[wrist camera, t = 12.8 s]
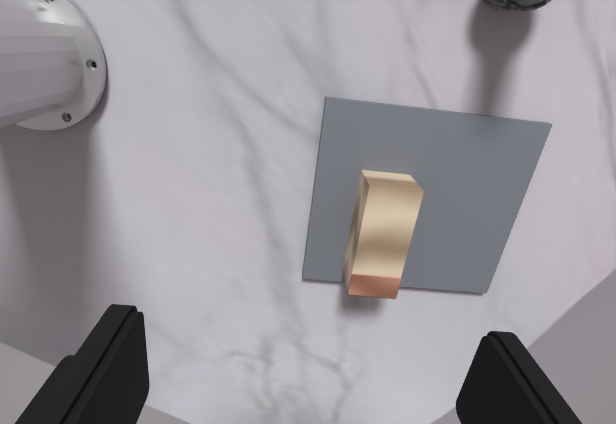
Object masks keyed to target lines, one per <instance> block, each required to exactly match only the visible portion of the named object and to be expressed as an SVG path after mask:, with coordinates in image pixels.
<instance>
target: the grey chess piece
mask: <svg viewBox="0 0 616 424" xmlns="http://www.w3.org/2000/svg"><path fill="white" fill-rule="evenodd" d="M483 1H484V2H485V3H486V4H487V5H488V6H490V7H492V8H494V9H497V10H508V9H515V10H520V11H529V10H535V9H537V8H540V7H542V6H544V5H546V4H547V3H548V2H550V1H551V0H483Z"/></svg>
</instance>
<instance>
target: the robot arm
mask: <svg viewBox="0 0 616 424" xmlns="http://www.w3.org/2000/svg"><path fill="white" fill-rule="evenodd" d="M94 62H96V65H97V67H95V66H94ZM105 81H106V64H105V58H104V54H103V50H102V46H101V44H100V41H99V39H98V37H97V34H96V32H95V30H94V29H93V27H92V25H91V24H90V22H89V20H88V19H87V17H86V16H85V15H84V14H83V12H82V11H81V10H80V9H79V8H78V6H77V5H76V4H75V3H74V2H73V1H72V0H54V1H53V0H0V128H2V127H5V126H8V125H12V124H15V125H18V126H21V127H23V128H28V129H33V130H38V131H53V130H59V129H64V128H67V127H70V126H73V125H75V124H77V123H79V122H80V121H82V120H84V119H85V118H87V117H88V116H89V115H90V114H91V113H92V112H93V111H94V110H95V108H96V106H97V105H98V103H99V102H100V100H101V97H102V94H103V92H104V88H105ZM70 115H71V117H72V118H71V117H70ZM148 392H149V373H148V361H147V350H146V338H145V327H144V316H143V313H142V312H137V308H136V306H131V305H117V304H112V305H110V306H109V307H108V309H107V310H106V312H105V313H104V314H103V316H102V317H101V319H100V320H99V322H98V323H97V324H96V326H95V327H94V329H93V330H92V332H91V333H90V334H89V336H88V337H87V339H86V340H85V342H84V343H83V344H82V346H81V347H80V349H79V350H78V352H77V353H76V354H75V355H68V356H67V357H65V358H63V360H62V361H61V362H60V363H59V364H58V365H57V367H56V368H55V370H54V371H53V372H52V374H51V375H50V376H49V378H48V379H47V380H46V382H45V383H44V384H43V386H42V387H41V389H40V390H39V391H38V393H37V394H36V396H35V397H34V398H33V399H32V401H31V402H30V404H29V405H28V406H27V408H26V409H25V411H24V412H23V413H22V414H21V416H20V417H19V419H18V420H17V421H16V423H15V424H136V423H137V420H138V418H139V415H140V412H141V411H142V408H143V406H144V404H145V401H146V399H147V396H148ZM456 411H457V415H458V417H459V419H460V422H461V424H582V423H581V422H580V420H579V419H578V418H577V416H576V415H575V413H574V412H573V411H572V410H571V408H570V407H569V405H568V404H567V403H566V402H565V400H564V399H563V397H562V396H561V395H560V394H559V392H558V391H557V389H556V388H555V387H554V386H553V384H552V383H551V381H550V380H549V379H548V378H547V376H546V375H545V373H544V372H543V371H542V369H541V368H540V367H539V366H538V364H537V363H536V362H535V360H534V359H533V357H532V356H531V355H530V353H529V352H528V351H527V349H526V348H525V347H524V345H523V344H522V343H521V341H520V340H519V339H518V337H517V336H516V335H515V334H513V333H511V332H498V331H490V332H489V333H488V334H487V336H484V337H482V339H481V341H480V344H479V346H478V349H477V351H476V354H475V356H474V359H473V361H472V364H471V366H470V368H469V371H468V373H467V376H466V378H465V381H464V383H463V386H462V388H461V391H460V393H459V396H458V398H457V401H456Z"/></svg>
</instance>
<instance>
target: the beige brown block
mask: <svg viewBox="0 0 616 424" xmlns="http://www.w3.org/2000/svg"><path fill="white" fill-rule="evenodd" d="M423 194H424V191H423V189H422V188H421V187H420V186H419V185H418V184H417V182H416V181H415V180H414V179H413V178H412V177H411V175H407V174H397V173H388V172H378V171H369V170H361V174H360V180H359V185H358V190H357V196H356V201H355V206H354V212H353V217H352V222H351V228H350V233H349V238H348V244H347V249H346V254H345V260H344V265H343V275H344V280H345V285H346V290H347V295H352V296H365V297H377V298H390V299H395V298H396V297H397V293H398V289H399V285H400V282H401V276H402V272H403V268H404V264H405V261H406V257H407V253H408V250H409V246H410V242H411V238H412V235H413V231H414V227H415V223H416V220H417V216H418V212H419V208H420V205H421V201H422V197H423Z"/></svg>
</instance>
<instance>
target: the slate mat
mask: <svg viewBox="0 0 616 424" xmlns="http://www.w3.org/2000/svg"><path fill="white" fill-rule="evenodd" d="M551 127H552V124H549V123H545V122H536V121H528V120H519V119H511V118H502V117H494V116H485V115H477V114H468V113H460V112H451V111H443V110H434V109H426V108H417V107H409V106H400V105H392V104H383V103H375V102H366V101H358V100H349V99H340V98H332V97H325V105H324V113H323V120H322V128H321V135H320V143H319V151H318V158H317V166H316V174H315V181H314V189H313V196H312V204H311V212H310V219H309V227H308V234H307V242H306V250H305V257H304V265H303V273H302V279H313V280H325V281H338V282H345V280H344V275H343V265H344V260H345V254H346V249H347V244H348V238H349V233H350V228H351V222H352V217H353V212H354V206H355V201H356V196H357V190H358V185H359V180H360V174H361V170H369V171H378V172H388V173H397V174H407V175H411V177H412V178H413V179H414V180H415V181H416V182H417V184H418V185H419V186H420V187H421V188H422V189H423V191H424V194H423V197H422V201H421V205H420V208H419V212H418V216H417V220H416V223H415V227H414V231H413V235H412V238H411V242H410V246H409V250H408V253H407V257H406V261H405V264H404V268H403V272H402V276H401V282H400V285H399V286H401V287H414V288H427V289H439V290H452V291H465V292H477V293H487V291H488V289H489V286H490V283H491V281H492V278H493V276H494V273H495V271H496V268H497V265H498V263H499V260H500V258H501V255H502V253H503V250H504V247H505V245H506V242H507V240H508V237H509V235H510V232H511V229H512V227H513V224H514V222H515V219H516V217H517V214H518V211H519V209H520V206H521V204H522V201H523V199H524V196H525V193H526V191H527V188H528V186H529V183H530V181H531V178H532V175H533V173H534V170H535V168H536V165H537V163H538V160H539V157H540V155H541V152H542V150H543V147H544V145H545V142H546V139H547V137H548V134H549V132H550V129H551Z"/></svg>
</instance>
